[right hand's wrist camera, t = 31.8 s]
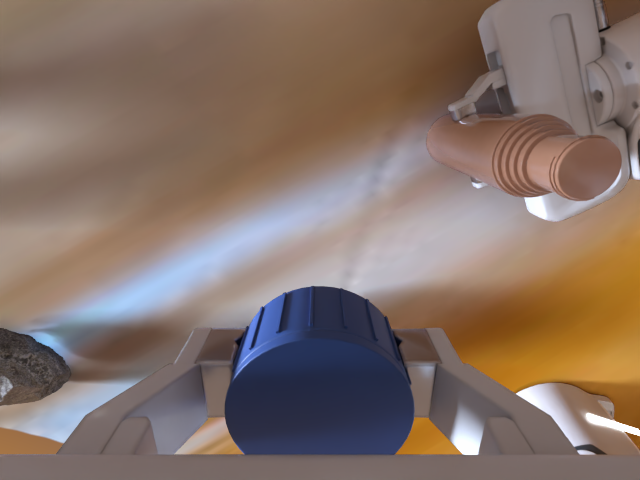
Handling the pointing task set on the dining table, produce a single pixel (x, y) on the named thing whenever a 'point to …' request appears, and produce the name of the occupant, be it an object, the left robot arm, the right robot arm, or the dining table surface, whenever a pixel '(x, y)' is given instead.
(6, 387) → the rock
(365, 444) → the cap
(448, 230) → the dining table surface
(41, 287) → the dining table surface
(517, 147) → the bottle
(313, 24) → the dining table surface
